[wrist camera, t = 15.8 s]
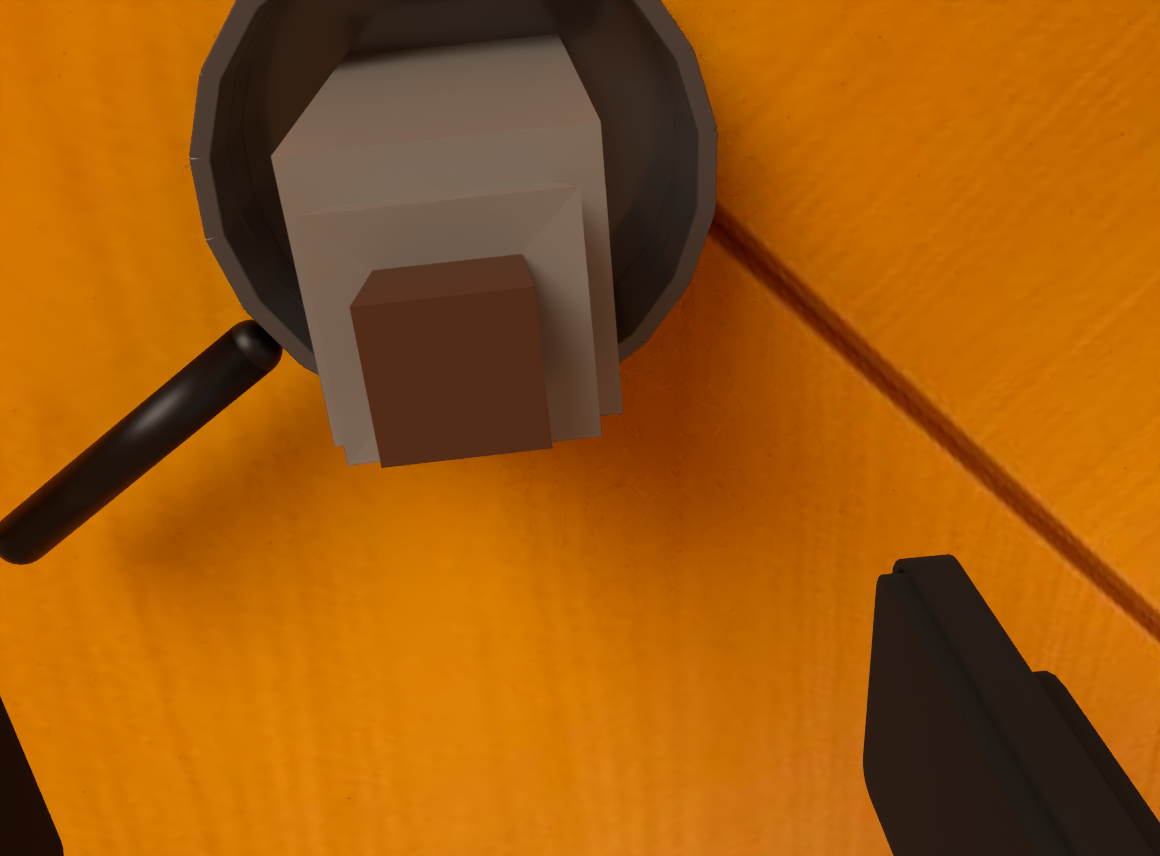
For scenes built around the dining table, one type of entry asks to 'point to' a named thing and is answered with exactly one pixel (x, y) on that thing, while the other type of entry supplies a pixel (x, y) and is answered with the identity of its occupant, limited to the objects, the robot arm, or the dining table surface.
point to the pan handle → (139, 441)
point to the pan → (446, 17)
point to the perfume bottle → (454, 251)
